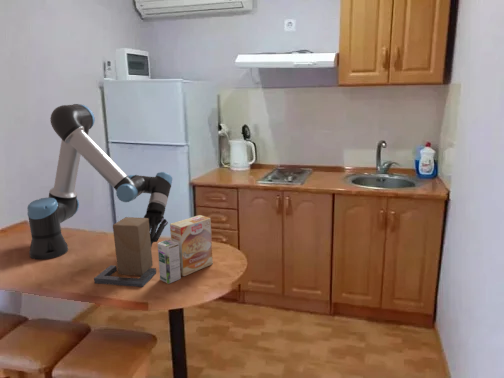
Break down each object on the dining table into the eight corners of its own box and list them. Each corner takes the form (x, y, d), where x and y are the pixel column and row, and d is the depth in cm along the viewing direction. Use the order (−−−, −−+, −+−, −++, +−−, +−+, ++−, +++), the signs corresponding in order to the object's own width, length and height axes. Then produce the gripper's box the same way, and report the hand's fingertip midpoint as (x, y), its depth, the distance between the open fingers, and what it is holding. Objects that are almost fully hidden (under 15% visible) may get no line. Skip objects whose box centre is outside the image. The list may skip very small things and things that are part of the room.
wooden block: (141, 276, 158) (137, 226, 153) (117, 274, 160) (112, 224, 155) (153, 265, 168) (149, 217, 163) (130, 263, 170) (125, 216, 165)
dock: (94, 283, 153) (94, 278, 153) (111, 269, 164) (110, 265, 164) (142, 287, 150) (142, 281, 149) (156, 273, 160) (155, 268, 160)
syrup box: (159, 279, 155) (156, 242, 151) (172, 274, 159) (169, 238, 156) (168, 284, 151) (165, 246, 148) (181, 278, 155) (179, 242, 152)
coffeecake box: (183, 276, 157) (180, 227, 152) (172, 271, 162) (168, 223, 157) (213, 264, 167) (211, 217, 163) (202, 259, 172) (199, 214, 168)
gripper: (174, 210, 183) (161, 261, 171) (146, 209, 185) (132, 259, 173) (168, 201, 176) (155, 254, 165) (139, 200, 179) (124, 252, 167)
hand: (143, 257), depth 169 cm, fingers closed
